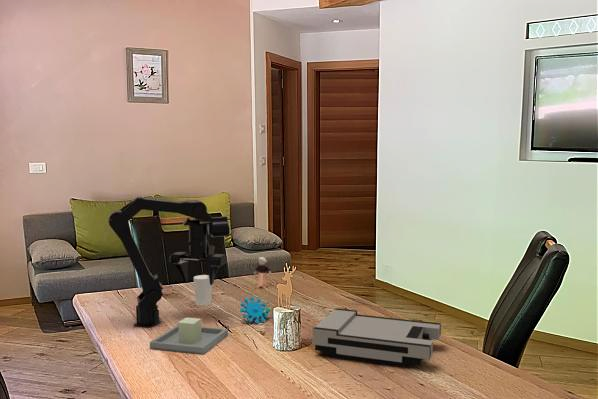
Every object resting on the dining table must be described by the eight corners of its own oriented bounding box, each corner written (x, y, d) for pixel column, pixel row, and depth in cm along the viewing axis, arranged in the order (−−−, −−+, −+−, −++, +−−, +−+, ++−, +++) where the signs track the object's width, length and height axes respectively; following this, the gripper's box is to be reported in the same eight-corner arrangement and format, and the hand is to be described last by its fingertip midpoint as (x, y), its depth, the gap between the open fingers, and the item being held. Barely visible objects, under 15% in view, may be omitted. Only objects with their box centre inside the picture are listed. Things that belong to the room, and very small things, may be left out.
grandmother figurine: (252, 288, 236) (251, 257, 235) (254, 285, 240) (254, 255, 238) (270, 288, 235) (270, 258, 233) (272, 286, 238) (272, 256, 237)
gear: (243, 321, 187) (239, 295, 193) (238, 330, 191) (233, 304, 197) (275, 321, 192) (269, 295, 198) (269, 330, 196) (263, 304, 202)
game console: (429, 373, 150) (429, 342, 149) (312, 357, 161) (312, 328, 161) (440, 346, 169) (441, 319, 168) (335, 333, 181) (335, 308, 180)
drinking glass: (216, 302, 215) (215, 276, 214) (204, 307, 210) (203, 280, 209) (202, 300, 219) (202, 274, 218) (190, 304, 213) (189, 277, 212)
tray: (150, 348, 168) (149, 342, 168) (178, 330, 184) (178, 324, 184) (203, 354, 163) (203, 347, 163) (227, 335, 179) (227, 328, 179)
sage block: (178, 342, 172) (178, 322, 171) (186, 336, 177) (186, 317, 176) (193, 343, 170) (193, 323, 170) (201, 338, 175) (201, 318, 174)
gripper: (233, 235, 198) (234, 280, 200) (184, 233, 203) (185, 276, 205) (219, 240, 187) (220, 288, 189) (168, 238, 193) (169, 284, 194)
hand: (198, 283), depth 195 cm, fingers open, 9 cm apart
